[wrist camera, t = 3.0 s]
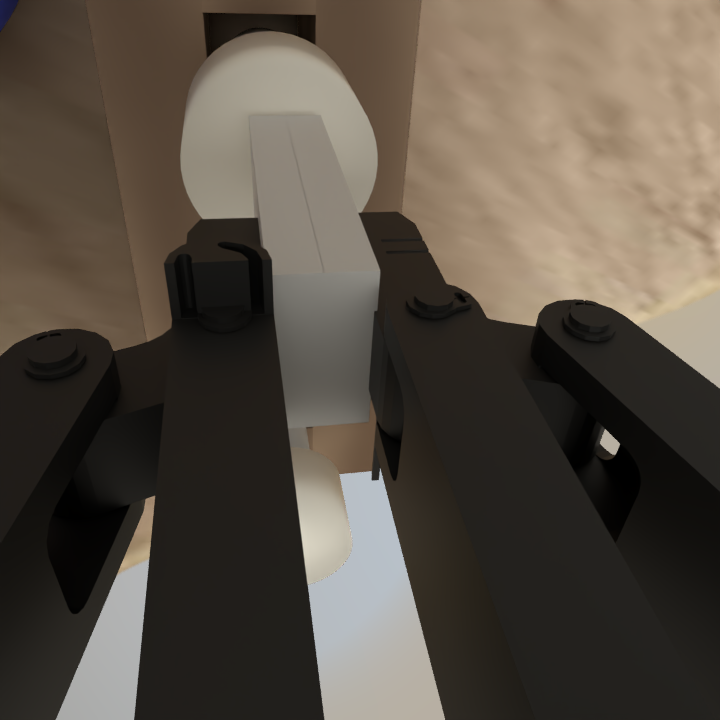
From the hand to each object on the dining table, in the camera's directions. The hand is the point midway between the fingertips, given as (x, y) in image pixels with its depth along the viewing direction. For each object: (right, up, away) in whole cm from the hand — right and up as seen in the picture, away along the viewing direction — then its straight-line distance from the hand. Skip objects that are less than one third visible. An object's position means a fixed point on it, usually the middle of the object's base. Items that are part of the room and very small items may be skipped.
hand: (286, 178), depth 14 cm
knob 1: (-2, +6, +7) cm, 9 cm away
